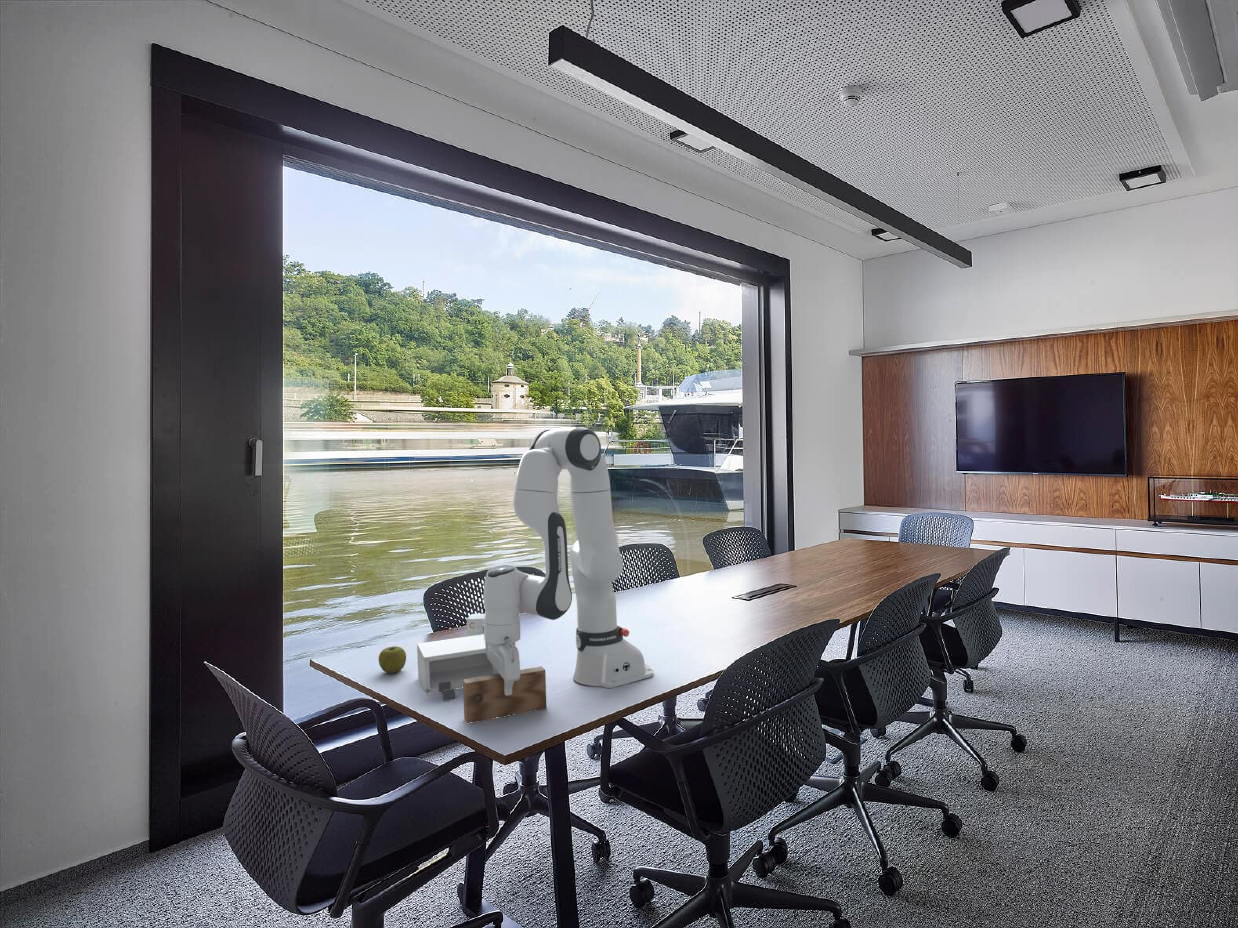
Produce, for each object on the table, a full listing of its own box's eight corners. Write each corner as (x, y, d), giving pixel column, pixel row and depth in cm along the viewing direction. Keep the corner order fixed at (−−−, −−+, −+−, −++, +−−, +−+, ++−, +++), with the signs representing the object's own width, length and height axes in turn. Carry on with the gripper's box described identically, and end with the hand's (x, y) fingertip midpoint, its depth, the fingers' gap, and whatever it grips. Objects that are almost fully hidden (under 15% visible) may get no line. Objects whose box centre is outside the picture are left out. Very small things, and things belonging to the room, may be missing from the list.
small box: (498, 653, 223) (496, 612, 222) (494, 660, 216) (492, 618, 216) (472, 654, 223) (470, 613, 222) (467, 660, 216) (466, 618, 216)
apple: (373, 675, 205) (372, 651, 205) (391, 666, 213) (390, 643, 213) (394, 678, 203) (393, 653, 202) (412, 669, 210) (411, 645, 210)
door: (542, 705, 180) (541, 666, 180) (547, 710, 177) (546, 670, 176) (464, 720, 172) (462, 679, 171) (467, 725, 168) (466, 684, 168)
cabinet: (494, 666, 211) (492, 632, 210) (512, 688, 192) (511, 652, 191) (418, 678, 202) (417, 643, 202) (429, 702, 183) (428, 664, 183)
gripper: (526, 642, 165) (527, 700, 166) (504, 621, 184) (505, 673, 184) (499, 645, 163) (500, 704, 163) (480, 624, 181) (481, 677, 182)
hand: (503, 688), depth 174 cm, fingers open, 8 cm apart
